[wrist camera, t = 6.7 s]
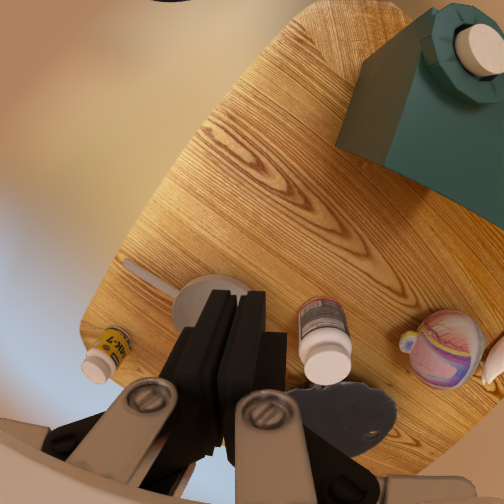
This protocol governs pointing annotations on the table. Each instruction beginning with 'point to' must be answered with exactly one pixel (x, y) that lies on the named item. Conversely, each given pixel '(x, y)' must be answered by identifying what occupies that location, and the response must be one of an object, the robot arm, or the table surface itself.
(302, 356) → the pill bottle
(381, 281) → the table surface
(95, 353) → the supplement bottle
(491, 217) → the teal box with knob
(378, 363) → the table surface
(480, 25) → the round beige push button
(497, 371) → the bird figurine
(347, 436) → the board
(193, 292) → the small pan
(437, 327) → the anatomical model
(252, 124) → the table surface
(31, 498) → the robot arm
